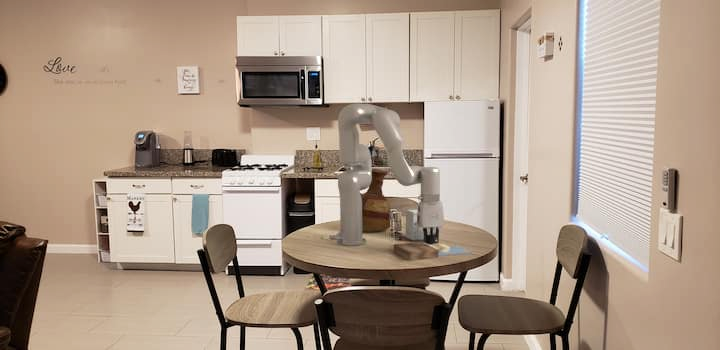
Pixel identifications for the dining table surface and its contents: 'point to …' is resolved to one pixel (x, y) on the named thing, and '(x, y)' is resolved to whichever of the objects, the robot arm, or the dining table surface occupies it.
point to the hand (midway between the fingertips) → (429, 243)
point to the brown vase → (375, 205)
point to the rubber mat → (454, 251)
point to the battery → (436, 237)
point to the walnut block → (415, 251)
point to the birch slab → (441, 248)
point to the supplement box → (412, 226)
